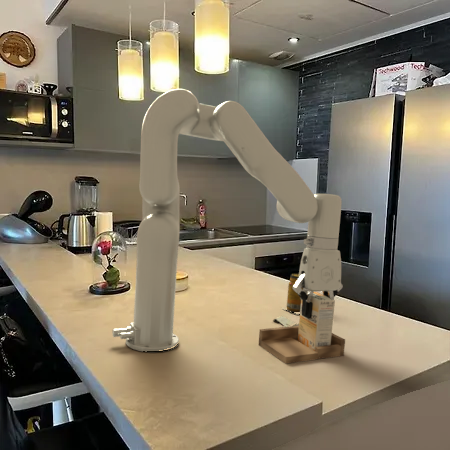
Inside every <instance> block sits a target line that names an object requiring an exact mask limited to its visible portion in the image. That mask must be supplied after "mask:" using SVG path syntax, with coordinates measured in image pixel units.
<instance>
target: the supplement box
mask: <svg viewBox="0 0 450 450" xmlns="http://www.w3.org/2000/svg"><path fill="white" fill-rule="evenodd" d="M307 294H308V292H307ZM311 302H312V303H313V306H312V316H311V318H310V319H308V318H306V317H304V316H302V300H301V309H300V315H299V322H298V324H299V331H298V341H299V342H300V343H302V344H303V345H305V346H307V347H309V348H310V349H312V350H314V351H315V347H319V346H327V345H331V335H332V333H333V325H334V324H333V323H334V316H335V303H336V300H335V299H334V300H333V299H331V298H329V297H327V296H324V295H323V293H320V292H319V291H316V292H314V293H313V296H312V299H311Z"/></svg>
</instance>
